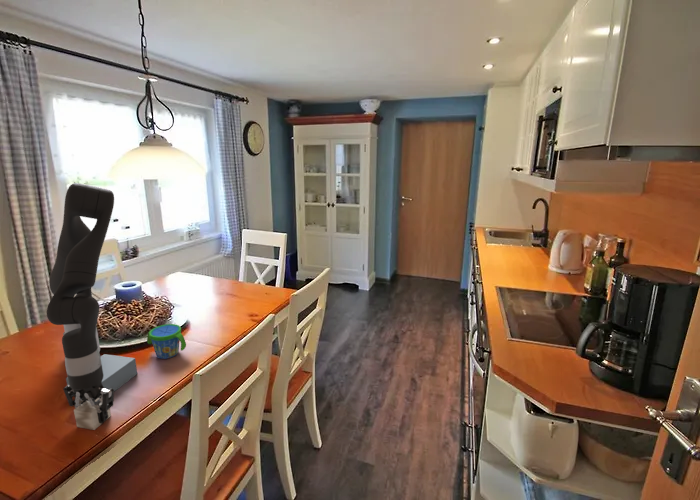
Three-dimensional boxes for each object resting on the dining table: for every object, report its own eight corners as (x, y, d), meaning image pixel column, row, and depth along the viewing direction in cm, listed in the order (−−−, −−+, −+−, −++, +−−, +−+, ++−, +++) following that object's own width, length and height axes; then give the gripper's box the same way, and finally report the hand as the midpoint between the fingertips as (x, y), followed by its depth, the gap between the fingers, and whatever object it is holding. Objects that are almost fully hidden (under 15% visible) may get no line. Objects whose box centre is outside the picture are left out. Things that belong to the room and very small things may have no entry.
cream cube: (77, 426, 95) (73, 409, 94) (94, 413, 101) (91, 396, 99) (94, 429, 95) (91, 412, 93) (111, 415, 100) (108, 399, 98)
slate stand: (69, 395, 108) (65, 378, 106) (106, 369, 121) (104, 354, 120) (102, 400, 106) (99, 383, 105) (137, 373, 119) (135, 358, 118)
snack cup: (194, 352, 134) (192, 328, 131) (171, 366, 124) (168, 341, 122) (164, 343, 139) (161, 320, 136) (140, 356, 130) (137, 332, 127)
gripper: (119, 362, 96) (127, 414, 100) (74, 356, 98) (84, 407, 102) (95, 378, 89) (105, 433, 93) (47, 371, 91) (59, 425, 95)
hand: (94, 419), depth 97 cm, fingers closed on cream cube, 5 cm apart
